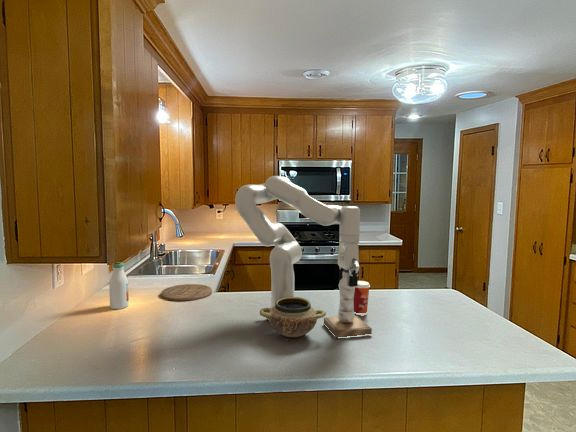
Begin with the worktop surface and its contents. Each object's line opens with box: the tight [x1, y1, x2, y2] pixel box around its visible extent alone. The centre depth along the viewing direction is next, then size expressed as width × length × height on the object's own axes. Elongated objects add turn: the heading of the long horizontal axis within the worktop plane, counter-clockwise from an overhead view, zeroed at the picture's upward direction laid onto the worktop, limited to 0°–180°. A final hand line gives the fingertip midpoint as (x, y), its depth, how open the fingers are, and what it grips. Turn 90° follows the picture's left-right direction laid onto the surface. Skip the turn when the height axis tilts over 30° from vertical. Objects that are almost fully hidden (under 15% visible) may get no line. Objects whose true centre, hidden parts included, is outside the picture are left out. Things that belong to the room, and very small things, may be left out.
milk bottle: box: [108, 262, 130, 310], centre depth 164 cm, size 8×8×20 cm
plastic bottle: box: [337, 269, 355, 323], centre depth 140 cm, size 6×7×20 cm
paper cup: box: [353, 280, 371, 313], centre depth 159 cm, size 8×8×14 cm
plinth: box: [323, 314, 373, 338], centre depth 141 cm, size 14×14×3 cm
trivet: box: [160, 283, 213, 302], centre depth 186 cm, size 25×25×2 cm
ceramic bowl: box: [259, 296, 327, 341], centre depth 135 cm, size 24×18×15 cm
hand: (348, 282), depth 139 cm, fingers open, 9 cm apart
